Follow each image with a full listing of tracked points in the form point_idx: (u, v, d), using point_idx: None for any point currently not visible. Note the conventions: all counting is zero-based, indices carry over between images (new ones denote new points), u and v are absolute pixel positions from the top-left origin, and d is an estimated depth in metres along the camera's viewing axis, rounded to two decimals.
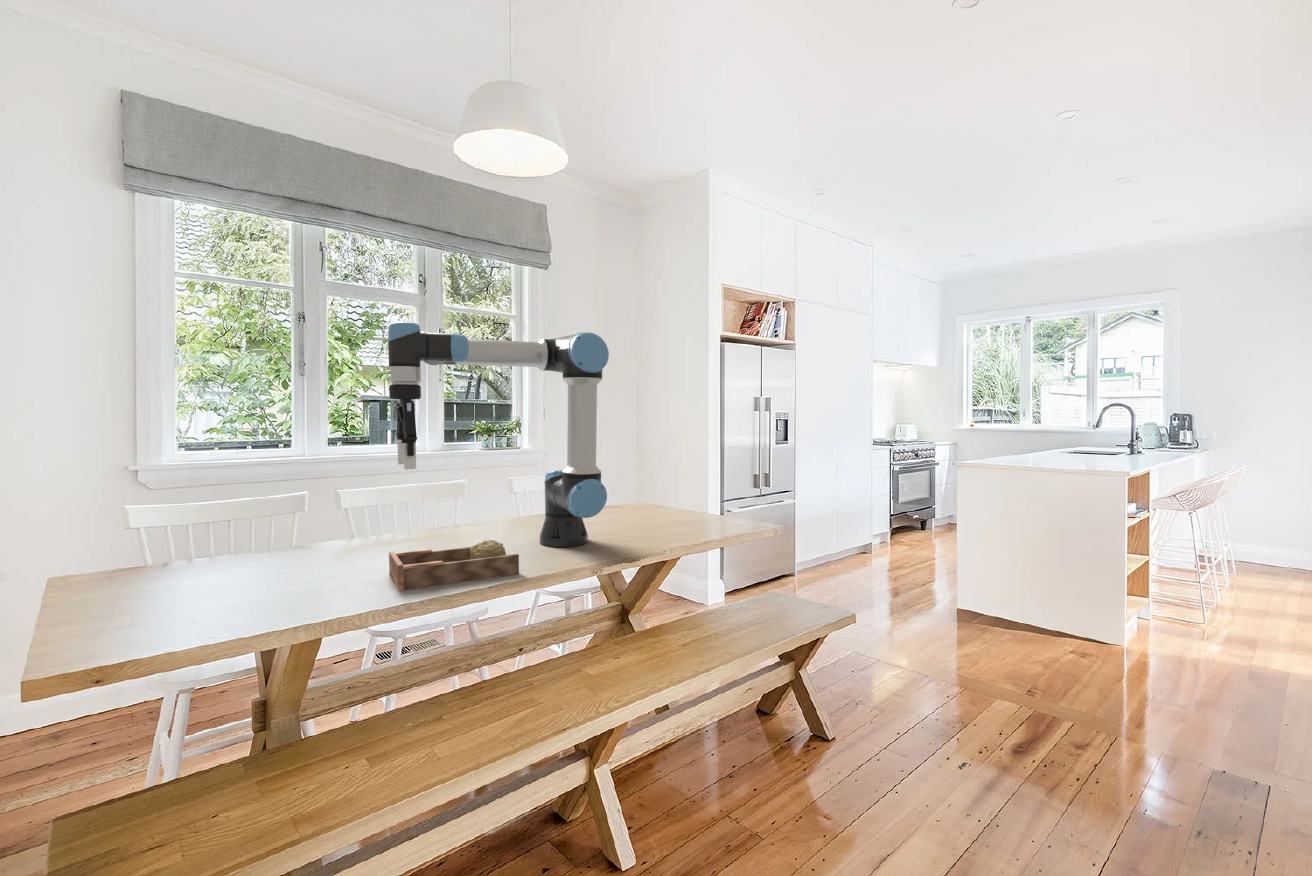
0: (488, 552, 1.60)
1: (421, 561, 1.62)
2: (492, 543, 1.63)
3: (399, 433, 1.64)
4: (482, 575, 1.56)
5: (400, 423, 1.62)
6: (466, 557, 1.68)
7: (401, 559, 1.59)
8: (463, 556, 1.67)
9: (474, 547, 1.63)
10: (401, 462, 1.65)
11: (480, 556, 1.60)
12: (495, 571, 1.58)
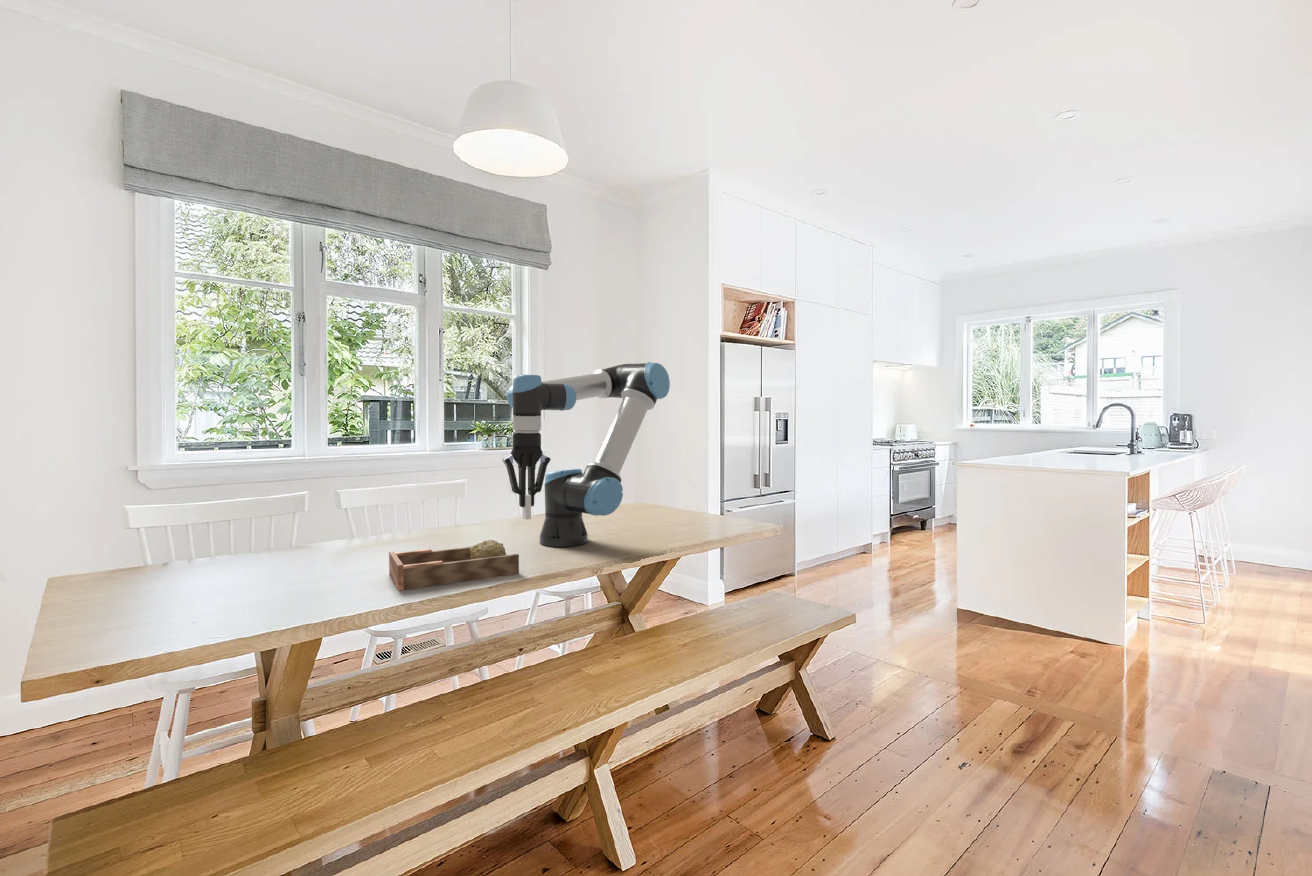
0: (488, 552, 1.60)
1: (421, 561, 1.62)
2: (492, 543, 1.63)
3: (528, 484, 1.70)
4: (482, 575, 1.56)
5: (528, 471, 1.69)
6: (466, 557, 1.68)
7: (401, 559, 1.59)
8: (463, 556, 1.67)
9: (474, 547, 1.63)
10: None
11: (480, 556, 1.60)
12: (495, 571, 1.58)
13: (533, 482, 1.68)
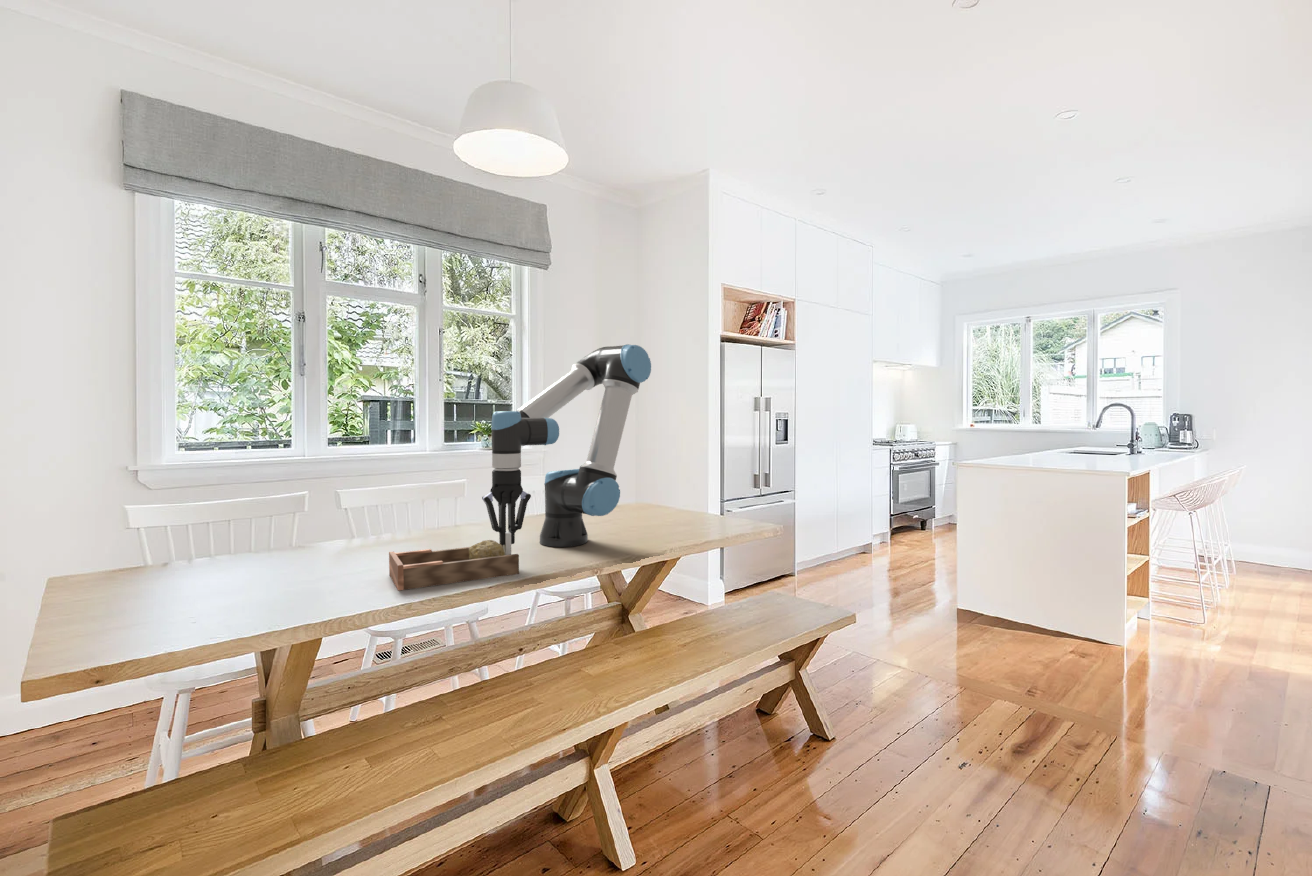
0: (487, 552, 1.60)
1: (421, 561, 1.62)
2: (491, 543, 1.63)
3: (508, 522, 1.67)
4: (482, 575, 1.56)
5: (508, 508, 1.67)
6: (466, 557, 1.68)
7: (401, 559, 1.59)
8: (463, 556, 1.67)
9: (473, 547, 1.63)
10: None
11: (479, 556, 1.60)
12: (495, 571, 1.58)
13: (513, 520, 1.66)
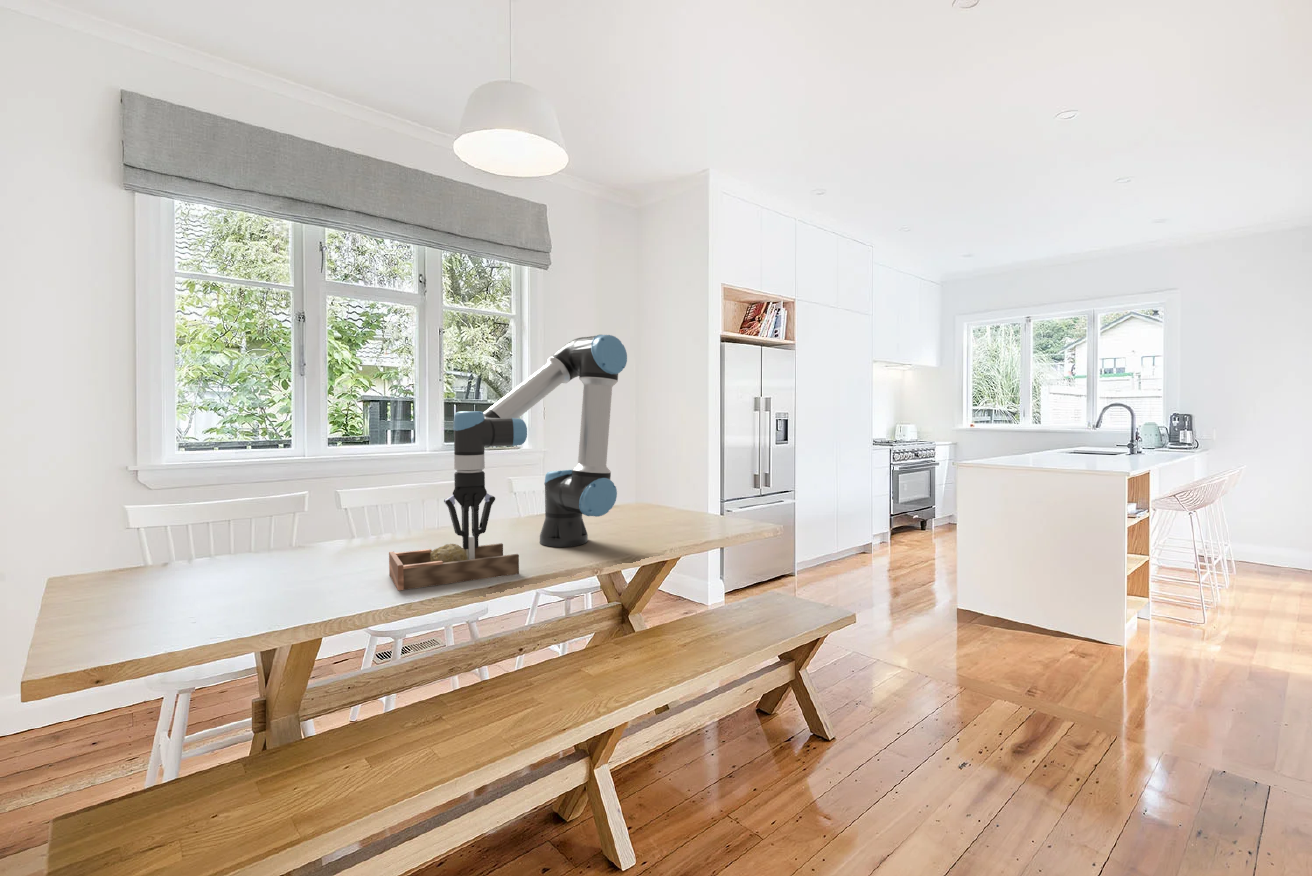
0: (447, 556, 1.55)
1: (421, 561, 1.62)
2: (452, 547, 1.58)
3: None
4: (482, 575, 1.56)
5: None
6: None
7: (401, 559, 1.59)
8: None
9: (434, 551, 1.58)
10: None
11: (439, 560, 1.55)
12: (495, 571, 1.58)
13: (477, 523, 1.61)
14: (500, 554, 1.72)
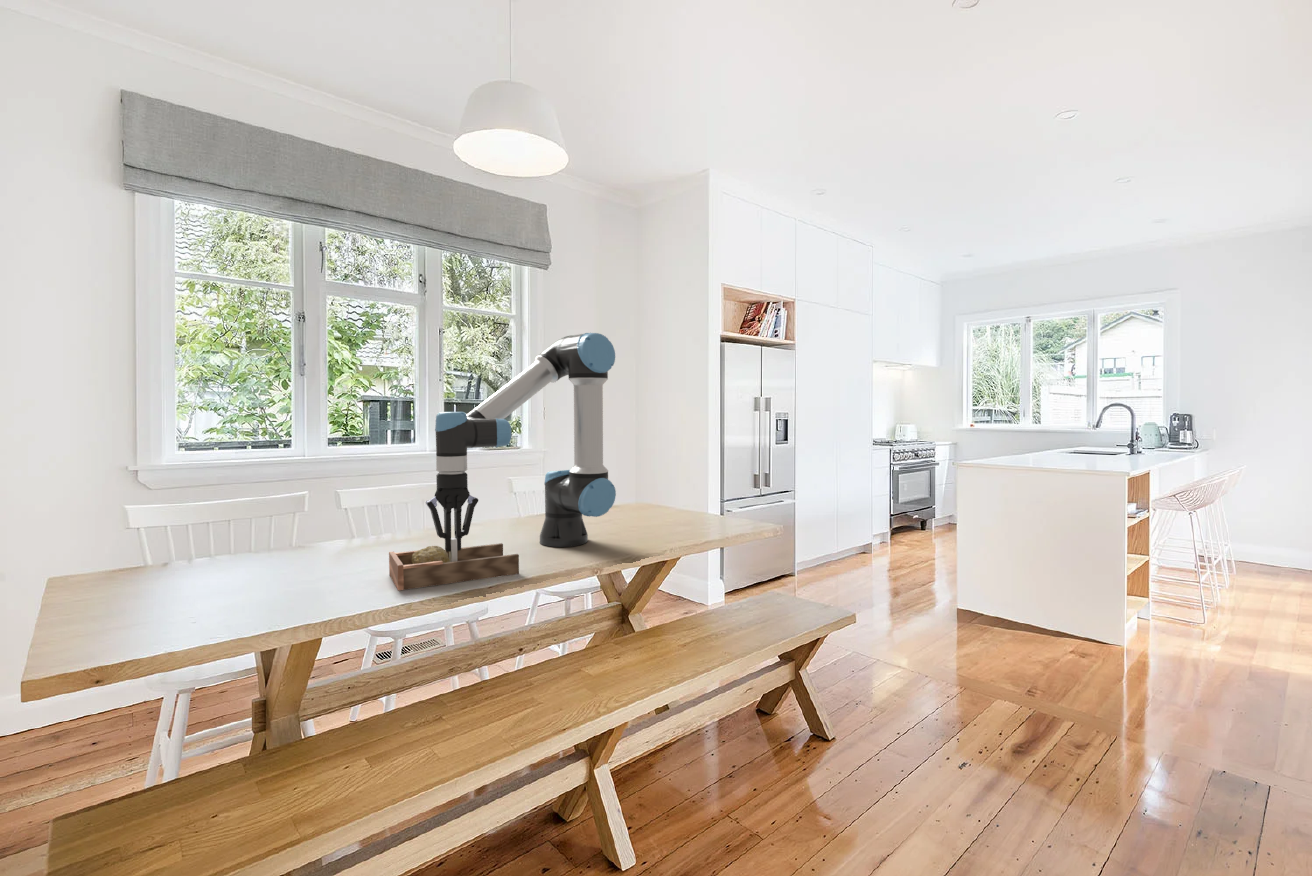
0: (428, 559, 1.53)
1: None
2: (434, 549, 1.56)
3: (454, 527, 1.60)
4: (482, 575, 1.56)
5: (454, 513, 1.60)
6: (466, 557, 1.68)
7: (401, 559, 1.59)
8: (463, 556, 1.67)
9: (416, 553, 1.56)
10: None
11: None
12: (495, 571, 1.58)
13: (459, 525, 1.59)
14: (500, 554, 1.72)
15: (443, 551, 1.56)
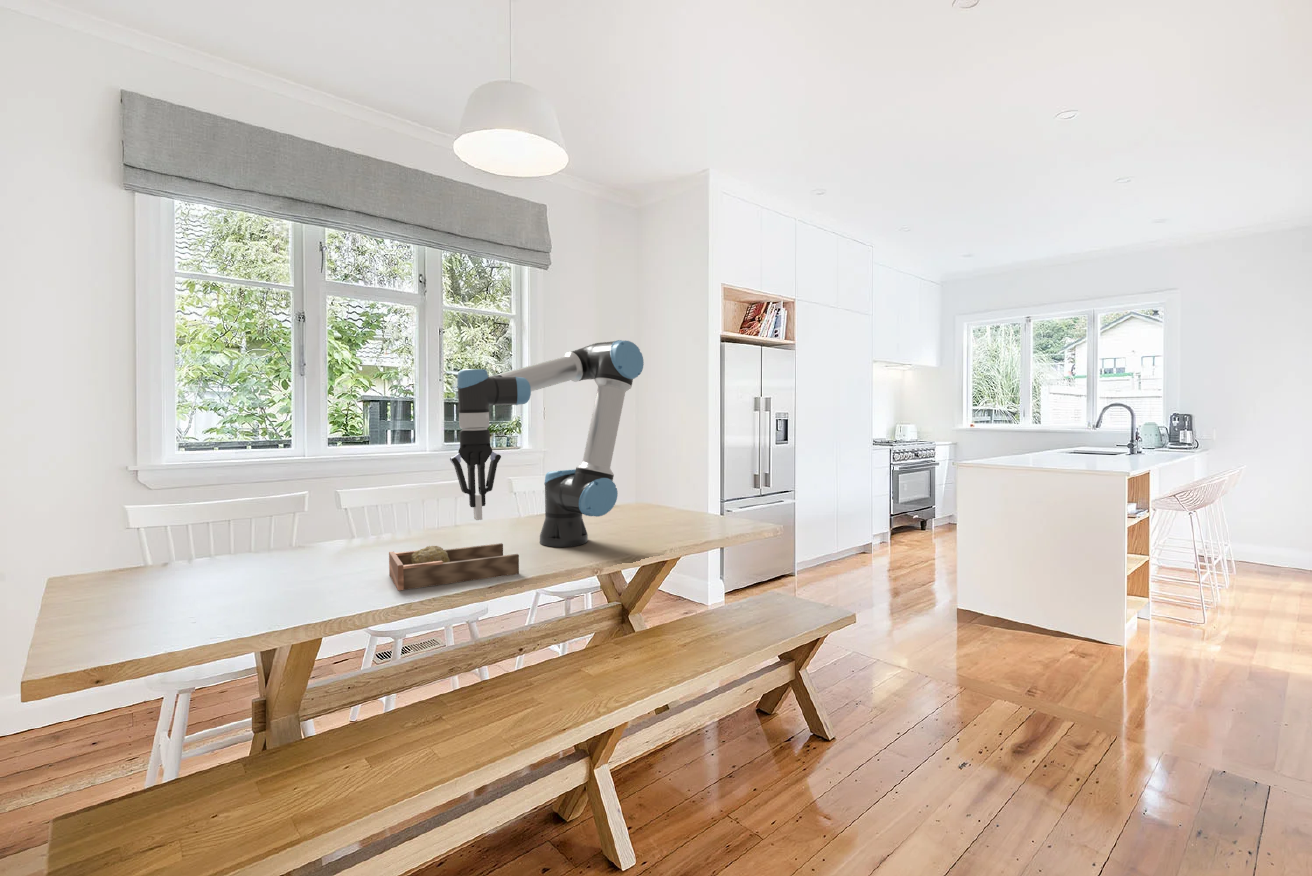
0: (428, 558, 1.53)
1: None
2: (434, 549, 1.56)
3: (478, 483, 1.63)
4: (482, 575, 1.56)
5: (478, 470, 1.63)
6: (466, 557, 1.68)
7: (401, 559, 1.59)
8: (463, 556, 1.67)
9: (415, 553, 1.56)
10: None
11: (419, 562, 1.53)
12: (495, 571, 1.58)
13: (483, 481, 1.61)
14: (500, 554, 1.72)
15: (443, 551, 1.56)
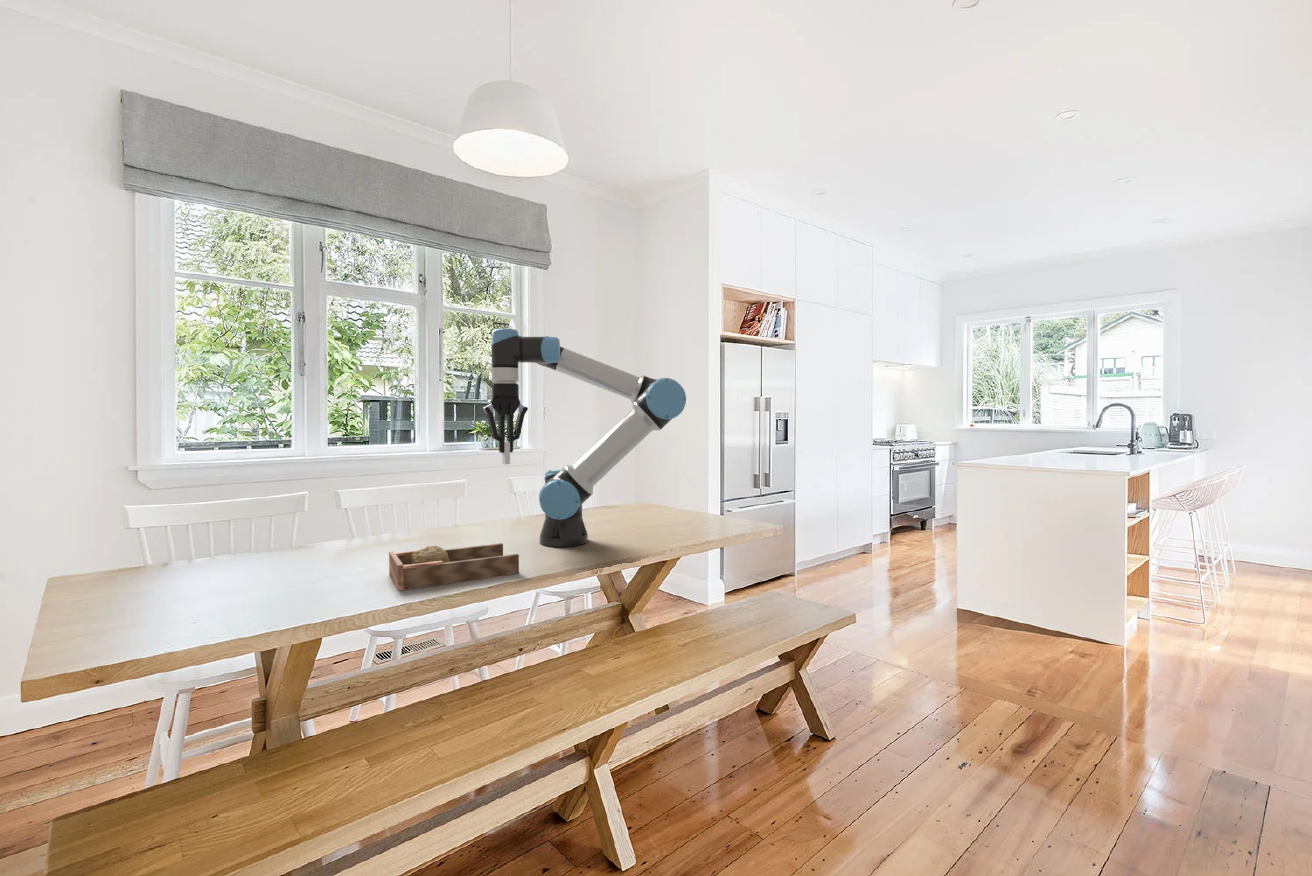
0: (428, 559, 1.53)
1: None
2: (434, 549, 1.56)
3: (507, 432, 1.82)
4: (482, 575, 1.56)
5: (507, 420, 1.82)
6: (466, 557, 1.68)
7: (401, 559, 1.59)
8: (463, 556, 1.67)
9: (415, 553, 1.56)
10: None
11: None
12: (495, 571, 1.58)
13: (512, 429, 1.81)
14: (500, 554, 1.72)
15: (443, 551, 1.56)
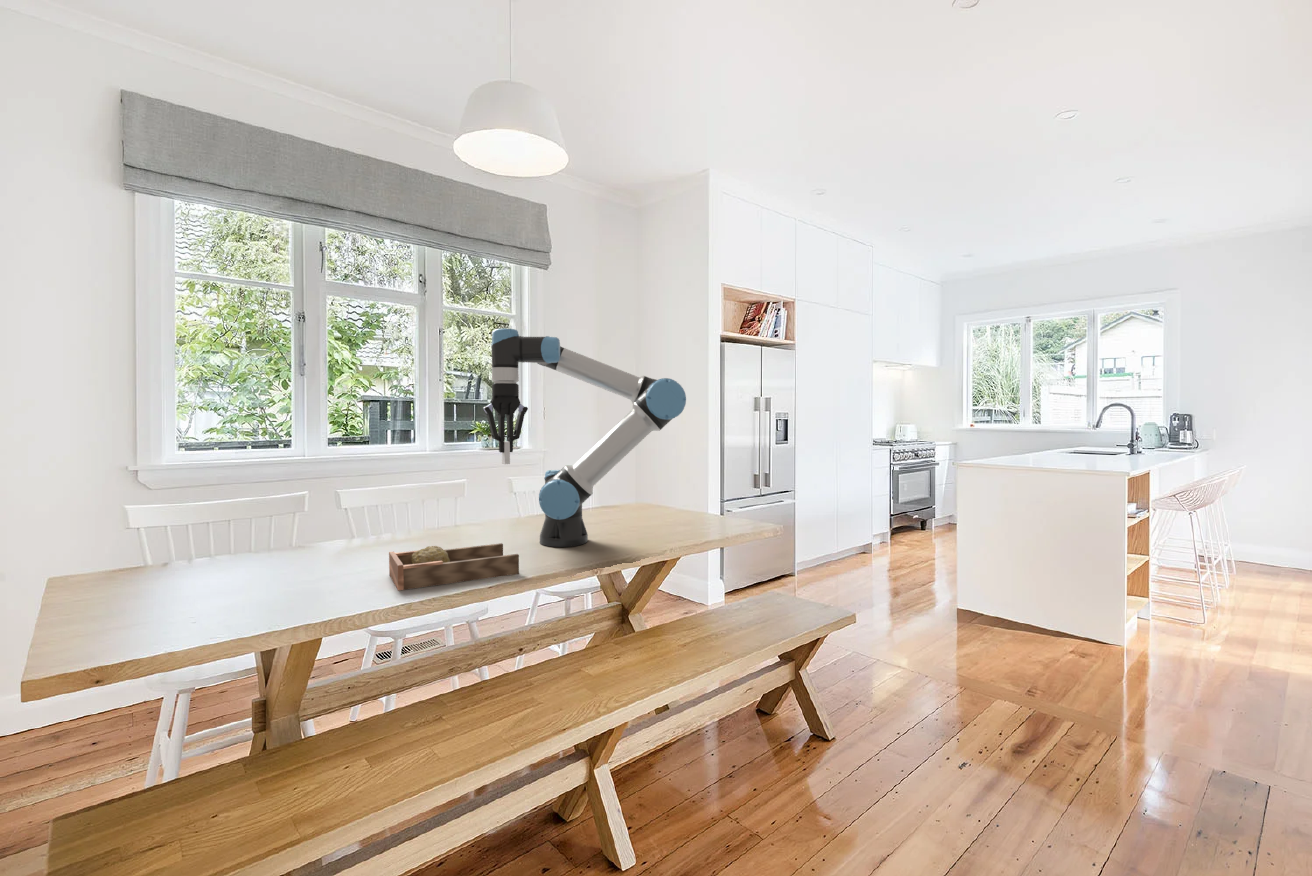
0: (429, 559, 1.53)
1: None
2: (434, 549, 1.56)
3: (507, 432, 1.82)
4: (482, 575, 1.56)
5: (507, 420, 1.82)
6: (466, 557, 1.68)
7: (401, 559, 1.59)
8: (463, 556, 1.67)
9: (416, 553, 1.56)
10: None
11: None
12: (495, 571, 1.58)
13: (511, 429, 1.81)
14: (500, 554, 1.72)
15: (443, 551, 1.56)
